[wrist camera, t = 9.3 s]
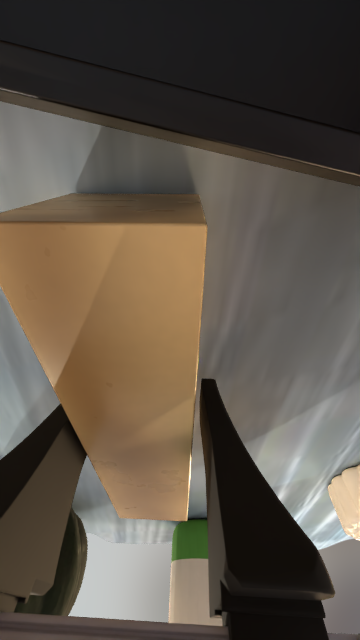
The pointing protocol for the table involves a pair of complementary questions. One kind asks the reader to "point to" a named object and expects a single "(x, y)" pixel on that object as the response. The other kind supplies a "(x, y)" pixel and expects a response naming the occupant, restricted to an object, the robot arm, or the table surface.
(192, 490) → the table surface
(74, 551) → the squash
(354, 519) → the mooncake
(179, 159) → the table surface
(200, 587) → the wine bottle
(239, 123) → the black tray
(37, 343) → the stick
